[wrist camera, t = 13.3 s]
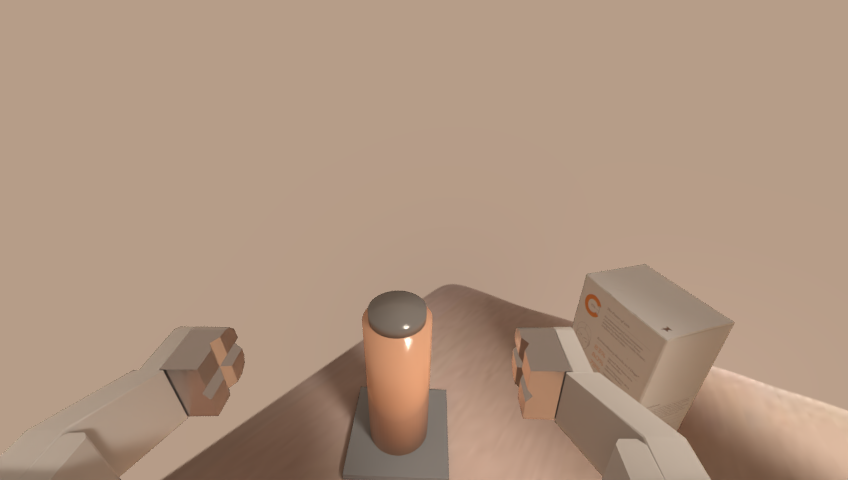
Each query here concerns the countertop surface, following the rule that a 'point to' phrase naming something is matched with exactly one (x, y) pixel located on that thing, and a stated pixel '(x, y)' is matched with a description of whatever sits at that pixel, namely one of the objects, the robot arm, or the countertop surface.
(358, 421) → the mat
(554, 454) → the countertop surface
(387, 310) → the jar
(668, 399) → the small box
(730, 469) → the countertop surface
